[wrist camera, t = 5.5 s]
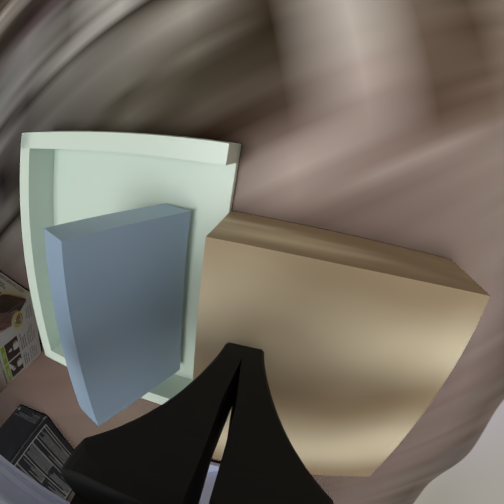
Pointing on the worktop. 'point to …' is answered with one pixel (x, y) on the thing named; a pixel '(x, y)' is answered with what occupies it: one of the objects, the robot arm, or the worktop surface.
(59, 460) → the small box
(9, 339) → the coffee box
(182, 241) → the blue rectangular block
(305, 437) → the tan flat block
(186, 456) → the robot arm
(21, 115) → the worktop surface
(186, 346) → the tray
